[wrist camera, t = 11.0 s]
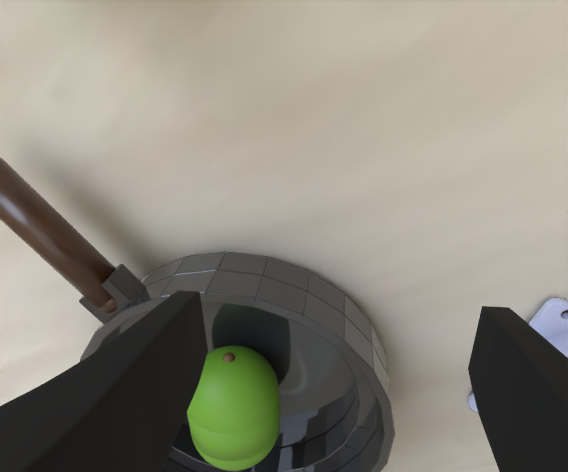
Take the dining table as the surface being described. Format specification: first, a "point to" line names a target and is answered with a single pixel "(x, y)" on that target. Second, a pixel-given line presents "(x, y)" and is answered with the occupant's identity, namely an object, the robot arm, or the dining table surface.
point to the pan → (284, 359)
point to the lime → (235, 408)
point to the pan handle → (65, 248)
